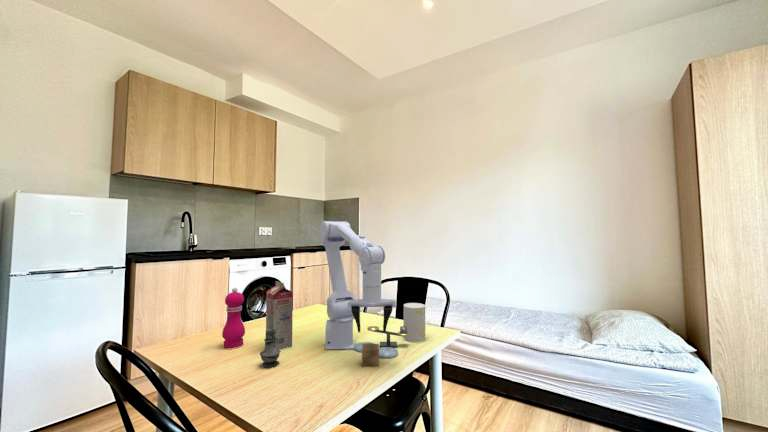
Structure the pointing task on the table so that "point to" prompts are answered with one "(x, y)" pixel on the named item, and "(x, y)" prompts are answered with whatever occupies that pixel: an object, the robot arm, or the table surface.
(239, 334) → the pepper mill
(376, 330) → the balance
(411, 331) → the cup
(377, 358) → the block
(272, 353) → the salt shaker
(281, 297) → the juice carton
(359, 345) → the dish left
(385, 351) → the dish right
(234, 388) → the table surface
